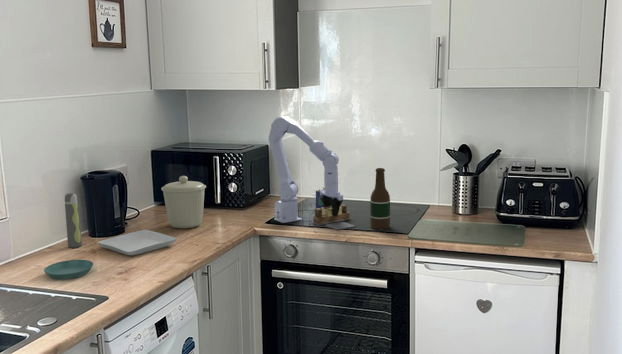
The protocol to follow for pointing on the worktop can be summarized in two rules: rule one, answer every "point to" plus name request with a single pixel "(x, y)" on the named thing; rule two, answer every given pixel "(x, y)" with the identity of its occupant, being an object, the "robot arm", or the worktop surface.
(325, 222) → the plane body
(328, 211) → the pale yellow block
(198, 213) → the canister
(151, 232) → the salad plate
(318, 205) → the flask
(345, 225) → the mat
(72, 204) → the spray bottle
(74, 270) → the saucer
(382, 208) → the beer bottle
